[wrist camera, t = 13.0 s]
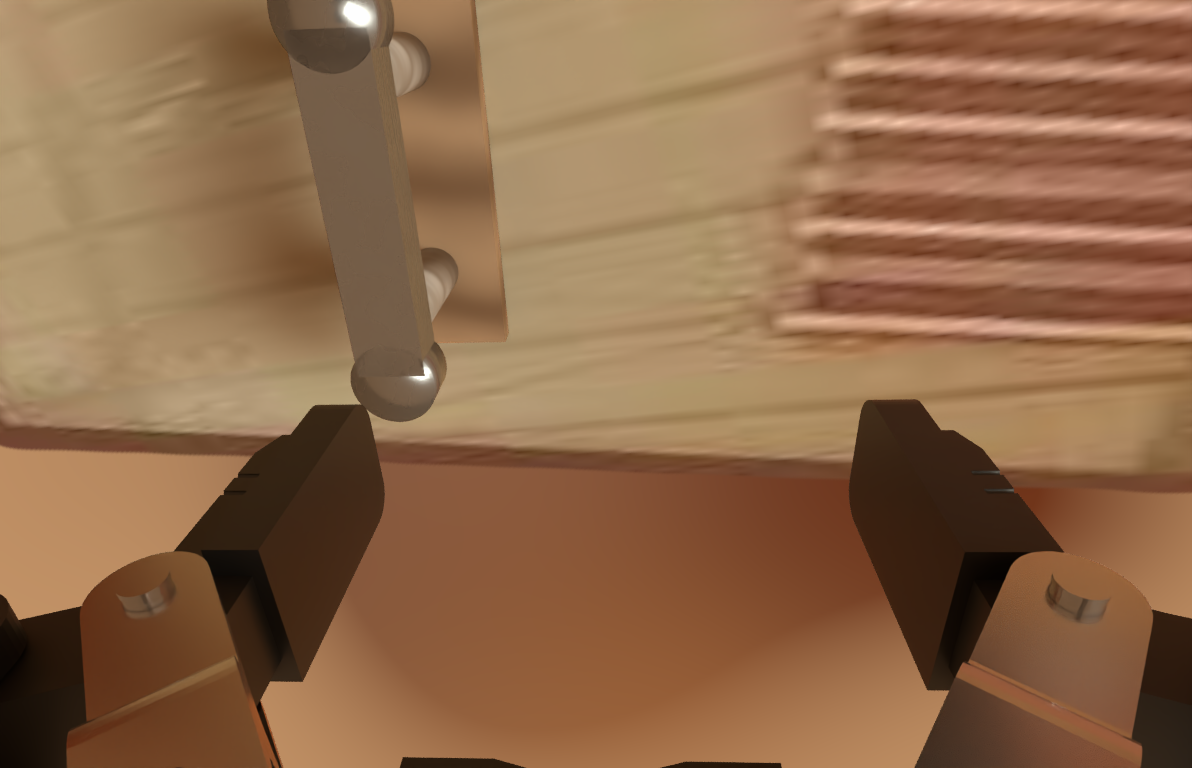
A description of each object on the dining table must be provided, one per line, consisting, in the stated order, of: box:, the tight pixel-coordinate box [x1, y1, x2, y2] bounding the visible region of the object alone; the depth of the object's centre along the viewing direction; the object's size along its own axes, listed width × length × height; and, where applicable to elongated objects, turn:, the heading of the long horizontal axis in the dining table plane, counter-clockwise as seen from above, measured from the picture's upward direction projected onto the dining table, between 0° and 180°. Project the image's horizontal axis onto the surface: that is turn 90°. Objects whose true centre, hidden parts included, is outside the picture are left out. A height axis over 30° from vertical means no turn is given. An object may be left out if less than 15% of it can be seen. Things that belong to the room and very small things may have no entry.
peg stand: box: [389, 0, 509, 343], centre depth 39 cm, size 22×8×10 cm, turn 2°
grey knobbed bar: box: [267, 0, 447, 422], centre depth 34 cm, size 21×4×2 cm, turn 2°
